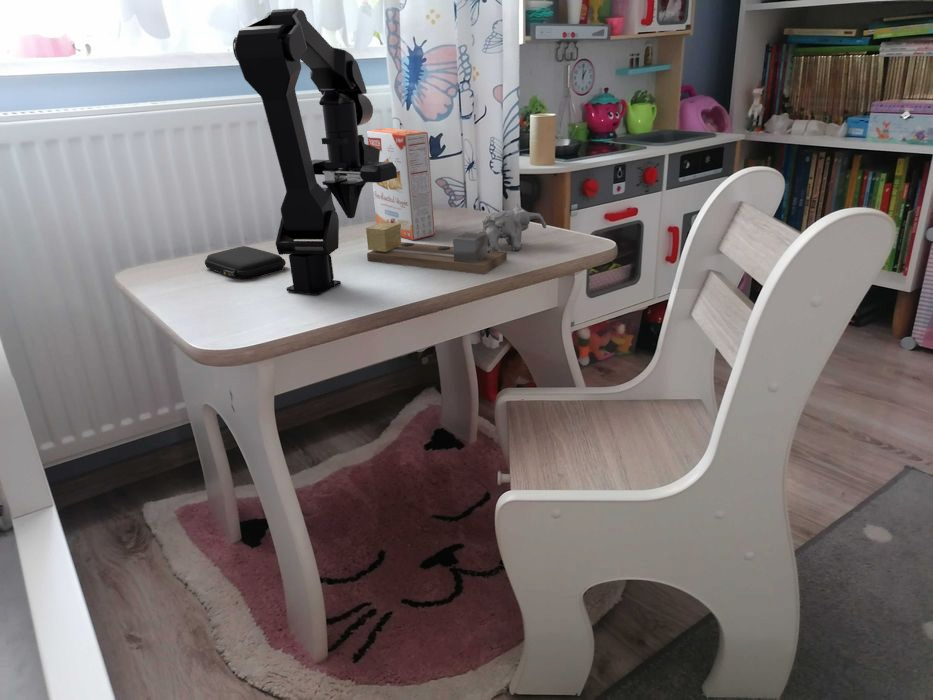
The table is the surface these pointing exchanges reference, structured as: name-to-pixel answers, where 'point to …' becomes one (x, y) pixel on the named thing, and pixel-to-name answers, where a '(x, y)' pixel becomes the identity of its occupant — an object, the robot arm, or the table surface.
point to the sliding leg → (383, 236)
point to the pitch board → (445, 255)
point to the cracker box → (404, 182)
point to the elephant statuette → (508, 226)
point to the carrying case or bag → (245, 262)
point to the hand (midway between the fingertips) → (351, 217)
